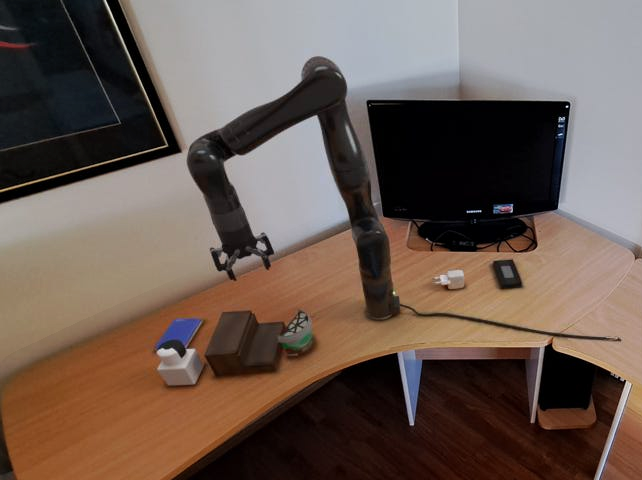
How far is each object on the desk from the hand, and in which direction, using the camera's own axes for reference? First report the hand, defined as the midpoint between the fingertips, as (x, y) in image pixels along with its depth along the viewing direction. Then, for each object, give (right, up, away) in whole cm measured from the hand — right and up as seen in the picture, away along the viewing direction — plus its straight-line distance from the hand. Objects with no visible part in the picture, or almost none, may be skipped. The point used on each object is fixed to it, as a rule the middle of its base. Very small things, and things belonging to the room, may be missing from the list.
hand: (251, 273), depth 121 cm
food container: (+10, -22, +12) cm, 27 cm away
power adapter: (+51, -3, +36) cm, 63 cm away
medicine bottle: (-20, -28, +3) cm, 35 cm away
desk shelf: (-5, -23, +10) cm, 25 cm away
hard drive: (-29, -18, +14) cm, 37 cm away
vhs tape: (+72, +1, +42) cm, 84 cm away
